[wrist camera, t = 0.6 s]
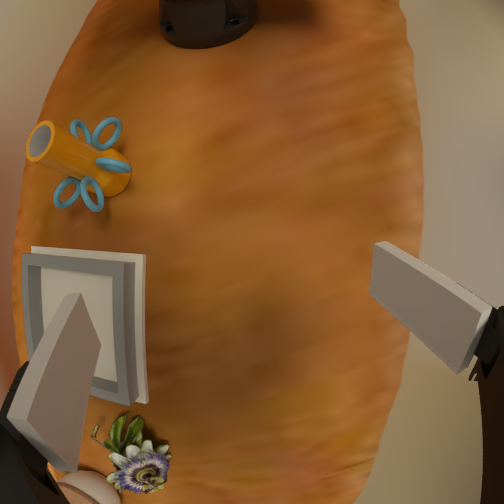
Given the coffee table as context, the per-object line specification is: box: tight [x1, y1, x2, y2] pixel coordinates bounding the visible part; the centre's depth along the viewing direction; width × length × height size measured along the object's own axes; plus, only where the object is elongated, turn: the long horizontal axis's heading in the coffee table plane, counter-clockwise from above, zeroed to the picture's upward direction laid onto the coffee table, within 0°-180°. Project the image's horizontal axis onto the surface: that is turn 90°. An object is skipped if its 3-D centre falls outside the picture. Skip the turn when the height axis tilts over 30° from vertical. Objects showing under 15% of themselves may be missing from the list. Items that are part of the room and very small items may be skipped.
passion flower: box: [91, 413, 172, 494], centre depth 31 cm, size 11×11×12 cm
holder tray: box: [22, 246, 149, 406], centre depth 33 cm, size 20×20×4 cm
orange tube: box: [26, 117, 132, 212], centre depth 27 cm, size 12×10×15 cm
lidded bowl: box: [57, 470, 121, 504], centre depth 30 cm, size 13×13×11 cm
